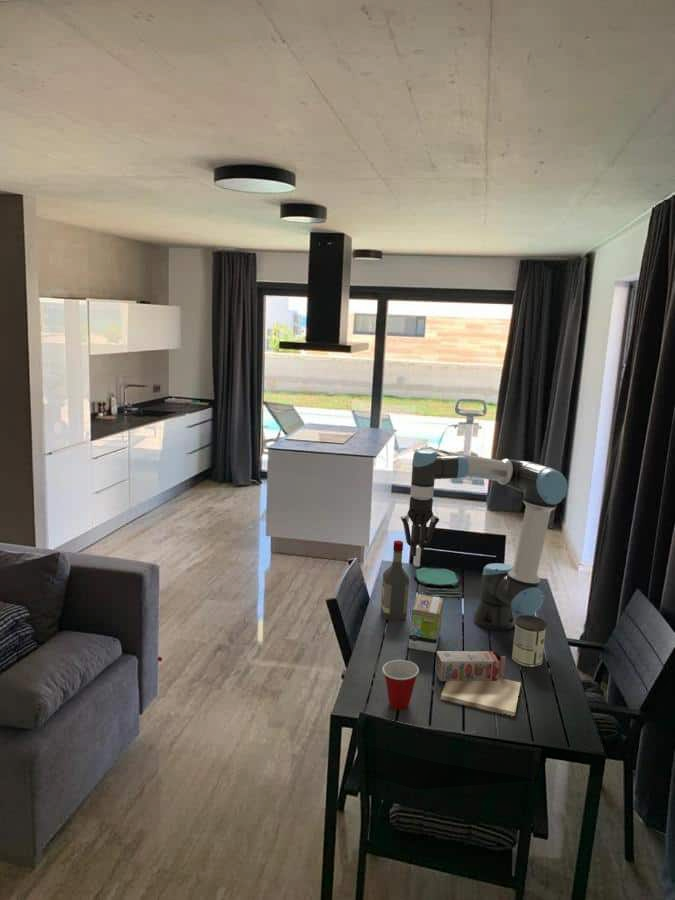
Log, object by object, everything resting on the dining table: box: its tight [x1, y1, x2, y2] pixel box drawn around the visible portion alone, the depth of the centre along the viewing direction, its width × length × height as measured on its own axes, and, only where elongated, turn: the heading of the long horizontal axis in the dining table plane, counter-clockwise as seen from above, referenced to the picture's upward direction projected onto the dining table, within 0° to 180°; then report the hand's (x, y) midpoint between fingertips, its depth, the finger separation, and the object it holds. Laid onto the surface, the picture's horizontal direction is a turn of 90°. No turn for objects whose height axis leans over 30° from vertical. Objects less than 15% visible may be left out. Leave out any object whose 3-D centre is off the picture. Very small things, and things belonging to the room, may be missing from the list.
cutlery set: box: [413, 567, 462, 599], centre depth 295 cm, size 20×30×2 cm, turn 179°
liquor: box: [380, 540, 410, 621], centre depth 257 cm, size 9×9×30 cm
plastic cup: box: [382, 659, 420, 711], centre depth 199 cm, size 11×11×12 cm
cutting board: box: [440, 677, 522, 717], centre depth 208 cm, size 22×18×2 cm
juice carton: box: [434, 650, 507, 682], centre depth 215 cm, size 7×7×22 cm
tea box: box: [408, 593, 444, 653], centre depth 239 cm, size 15×10×15 cm, turn 166°
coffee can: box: [511, 615, 548, 668], centre depth 230 cm, size 10×10×14 cm
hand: (416, 564), depth 225 cm, fingers closed
